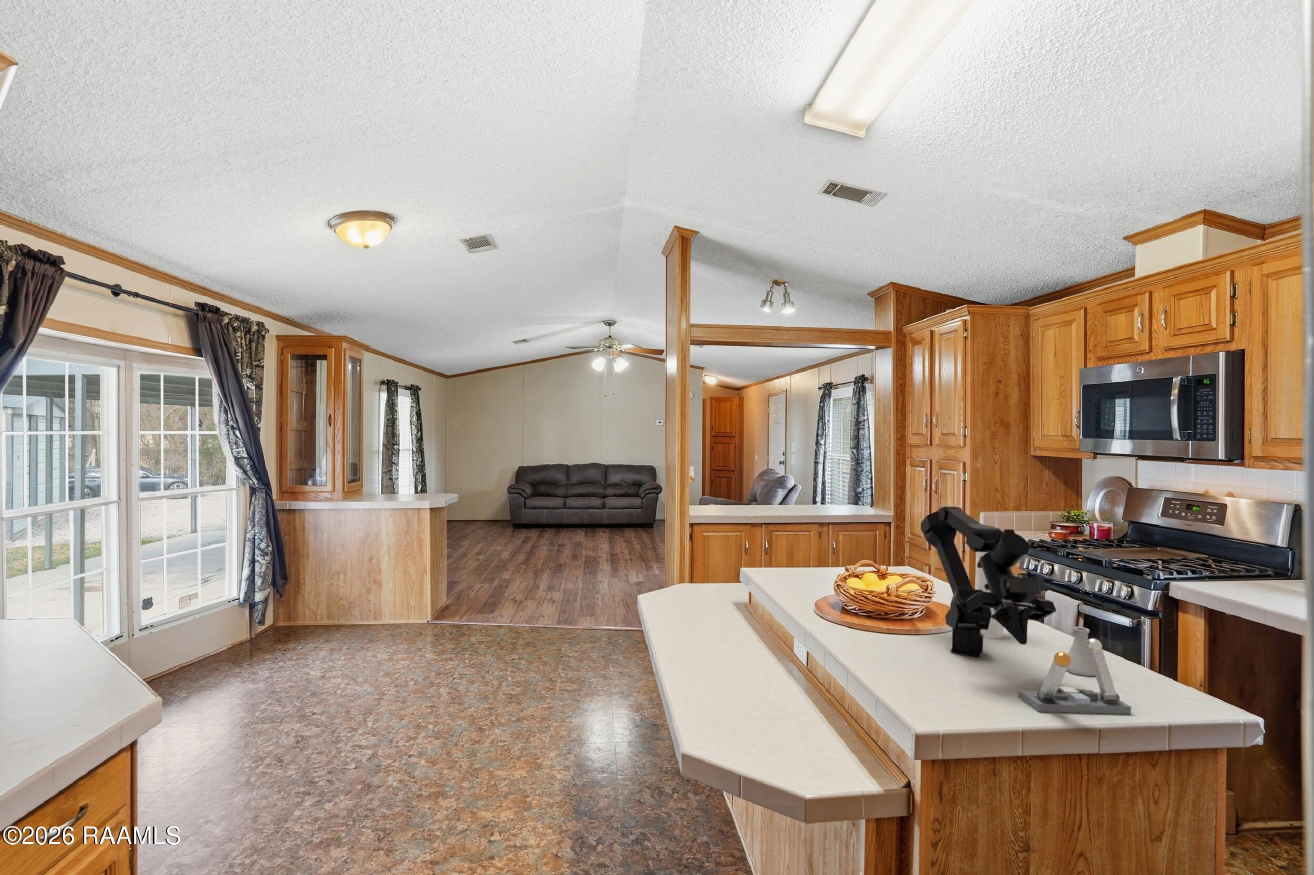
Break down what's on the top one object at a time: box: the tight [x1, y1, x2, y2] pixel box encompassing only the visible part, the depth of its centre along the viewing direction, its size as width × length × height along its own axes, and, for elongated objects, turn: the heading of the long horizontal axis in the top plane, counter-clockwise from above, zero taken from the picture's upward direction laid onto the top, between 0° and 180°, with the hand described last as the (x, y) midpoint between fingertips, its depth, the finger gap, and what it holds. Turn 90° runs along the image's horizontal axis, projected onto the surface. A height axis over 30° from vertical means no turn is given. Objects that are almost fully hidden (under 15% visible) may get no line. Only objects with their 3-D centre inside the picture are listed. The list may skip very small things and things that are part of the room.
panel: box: [1018, 686, 1132, 715], centre depth 129 cm, size 7×18×3 cm, turn 90°
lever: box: [1086, 637, 1121, 702], centre depth 130 cm, size 3×3×12 cm
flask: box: [1066, 626, 1096, 677], centre depth 149 cm, size 7×7×10 cm
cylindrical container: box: [974, 552, 1005, 640], centre depth 176 cm, size 7×7×25 cm
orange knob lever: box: [1037, 651, 1071, 700], centre depth 125 cm, size 3×3×12 cm
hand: (1023, 643), depth 136 cm, fingers closed
